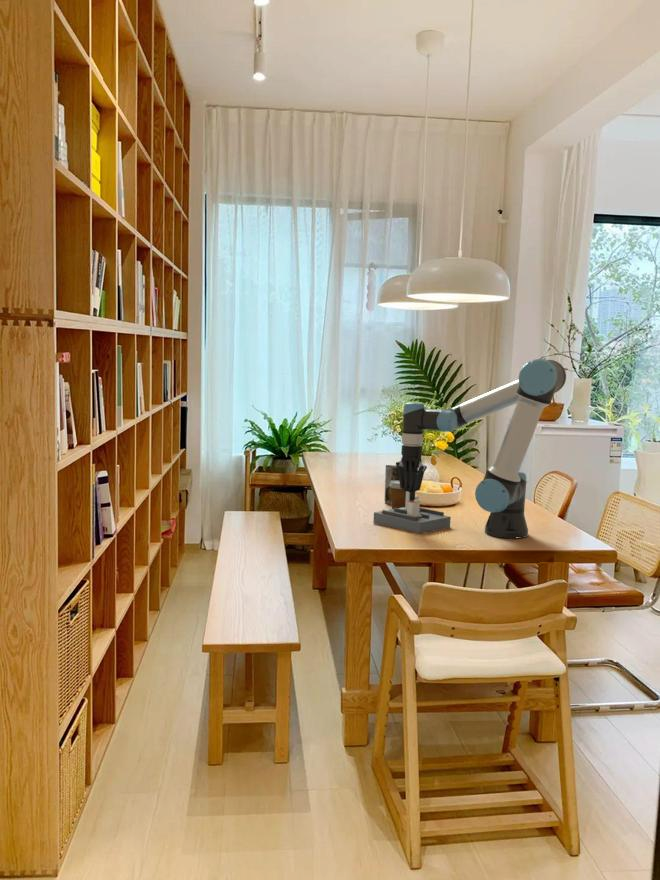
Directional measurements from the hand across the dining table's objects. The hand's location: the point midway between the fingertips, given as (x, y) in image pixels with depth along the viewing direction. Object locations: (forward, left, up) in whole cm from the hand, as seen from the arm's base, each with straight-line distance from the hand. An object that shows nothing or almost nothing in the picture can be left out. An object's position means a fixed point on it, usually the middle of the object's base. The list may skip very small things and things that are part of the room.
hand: (409, 508), depth 277 cm
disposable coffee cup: (+22, -21, -7) cm, 31 cm away
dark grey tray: (+2, -4, -7) cm, 8 cm away
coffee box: (+35, -33, -7) cm, 48 cm away
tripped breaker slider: (-2, 0, -3) cm, 3 cm away
